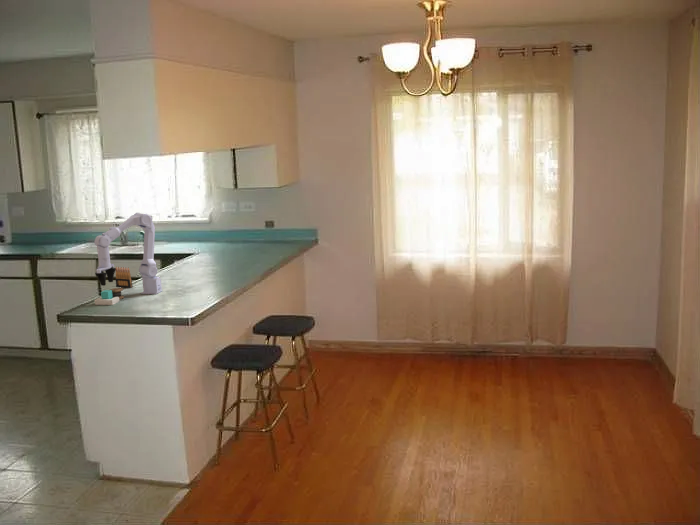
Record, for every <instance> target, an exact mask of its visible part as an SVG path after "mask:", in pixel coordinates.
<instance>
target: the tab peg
mask: <svg viewBox="0 0 700 525" xmlns="http://www.w3.org/2000/svg"><path fill="white" fill-rule="evenodd" d="M100 297H102V299H112V298H113V296H112V290H110V289H105V290H102V291H101V292H100Z"/></svg>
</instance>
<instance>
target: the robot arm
mask: <svg viewBox="0 0 700 525" xmlns="http://www.w3.org/2000/svg"><path fill="white" fill-rule="evenodd" d="M133 226H139V227H140V228H141V229H142V230H144V233H143V235H144V236H143V258H142V260H141V261H140V266H139V268H138V272H139V274H140V275H141V279H142V289H143V290H142V292H140V295H156V294H157V295H158V294H159V293H161V292H163V289H162V288H163V286H162V279H161V277H159V276H157V274H158V268H157V263H156V261H155V260H154V259H155V258H154V256H155V238H156V237H155V236H156V235H155V234H156V228H155V223H154V222H153V217H152V216H151V215H149V214H148V213H142V212H141V213H140V212H135V213H133V214H131V216H129V218H127V219H125V220H124V222H122V223H121V224H119V225H118V226H110V227H109V229H108V230H107V231H105V232H102V233H101V235H99V234H98V235H97V236H95V239H94V241H93V243H94V245H95V246H96V248H97V249H96V250H97V258H98V266H97V269H95V271H96V272H95V276H96V277H97V279H98V281H99V283H100V286H101V287H102V286H107V285H106V284H107V282H108V283H113V282H114V276H115V274H116V267H115V264H114V263H111V256H110V247H109V246H110V245H111V243H112V242H114V241H115V240H116V239H118V238H119V237H120V236H121V233H123V232H124V231H125V230H127V229H129V228H131V227H133ZM106 280H107V282H106Z"/></svg>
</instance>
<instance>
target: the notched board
mask: <svg viewBox="0 0 700 525" xmlns="http://www.w3.org/2000/svg"><path fill="white" fill-rule="evenodd" d="M119 302H120V299H119V297H114V298H112V299H102V297H101V296H99V297H98V298H96V299H94V305H95V306H97V305H98V306H100V305H101V306H103V305H104V306H107V305H108V306H112V305H115V304H117V303H119Z"/></svg>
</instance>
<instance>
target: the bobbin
mask: <svg viewBox="0 0 700 525" xmlns="http://www.w3.org/2000/svg"><path fill="white" fill-rule="evenodd" d="M109 290H112V296H113V298H114V297H119V300H121V299H124V298H125V296H124V295H122V291H124V288H122V287H115V288H110V289H109Z"/></svg>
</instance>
